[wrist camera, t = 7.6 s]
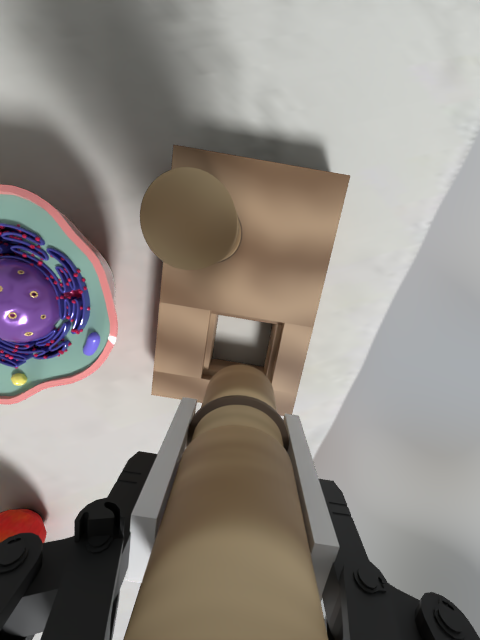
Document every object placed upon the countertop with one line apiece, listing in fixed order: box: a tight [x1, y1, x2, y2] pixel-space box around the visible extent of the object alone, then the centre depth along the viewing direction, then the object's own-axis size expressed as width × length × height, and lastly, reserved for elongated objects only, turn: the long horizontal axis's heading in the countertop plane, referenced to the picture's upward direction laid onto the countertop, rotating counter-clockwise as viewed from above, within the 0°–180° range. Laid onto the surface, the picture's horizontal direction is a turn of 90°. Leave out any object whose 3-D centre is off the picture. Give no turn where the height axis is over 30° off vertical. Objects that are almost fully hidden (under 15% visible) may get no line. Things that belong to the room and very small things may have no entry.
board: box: [140, 145, 350, 416], centre depth 21 cm, size 22×14×14 cm, turn 171°
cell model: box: [0, 184, 118, 404], centre depth 23 cm, size 17×20×11 cm
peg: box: [123, 365, 328, 640], centre depth 10 cm, size 5×5×14 cm
